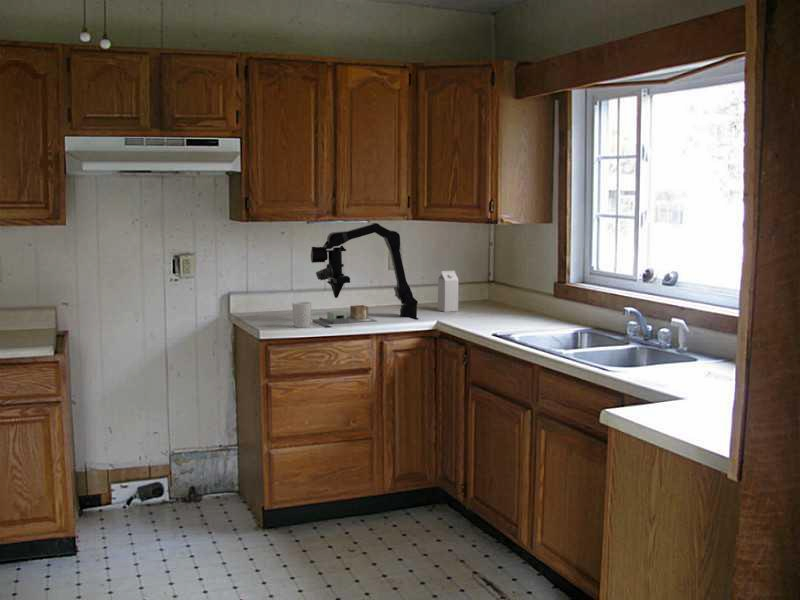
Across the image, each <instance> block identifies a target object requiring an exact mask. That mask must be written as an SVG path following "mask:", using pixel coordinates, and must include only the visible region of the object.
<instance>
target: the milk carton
mask: <svg viewBox="0 0 800 600" xmlns="http://www.w3.org/2000/svg"><path fill="white" fill-rule="evenodd" d="M437 311H440V312H444V313H449V312H451V311H452V312H458V311H459V277H458V275H457V273H456V270H442V271H441V274H440V275H439V276H438V278H437Z"/></svg>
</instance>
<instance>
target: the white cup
mask: <svg viewBox="0 0 800 600" xmlns="http://www.w3.org/2000/svg"><path fill="white" fill-rule="evenodd" d="M291 308H292V321H293V327H294V328H296V329H297V328H299V329H302V328H303V329H305V328H310V327H311V318H312V317H311V316H312V302H310V301H294V302H292V307H291Z"/></svg>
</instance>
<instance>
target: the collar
mask: <svg viewBox="0 0 800 600" xmlns="http://www.w3.org/2000/svg"><path fill="white" fill-rule="evenodd" d="M349 308H350V313H349V314H350V316H349V317H352V318H354V319H362V311H363V310H366V318H369V306H367V305H364V304H359V305H350V306H349Z"/></svg>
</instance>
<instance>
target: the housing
mask: <svg viewBox="0 0 800 600" xmlns="http://www.w3.org/2000/svg"><path fill="white" fill-rule="evenodd" d="M326 312H327V313H326V315H327V316H326V317H327V320H329V321H332V322H333V319H336V318H339V319H343V318H347V317H348V315H347V314H348V313H347V312H346V311H343V310H329V311H326Z"/></svg>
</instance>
